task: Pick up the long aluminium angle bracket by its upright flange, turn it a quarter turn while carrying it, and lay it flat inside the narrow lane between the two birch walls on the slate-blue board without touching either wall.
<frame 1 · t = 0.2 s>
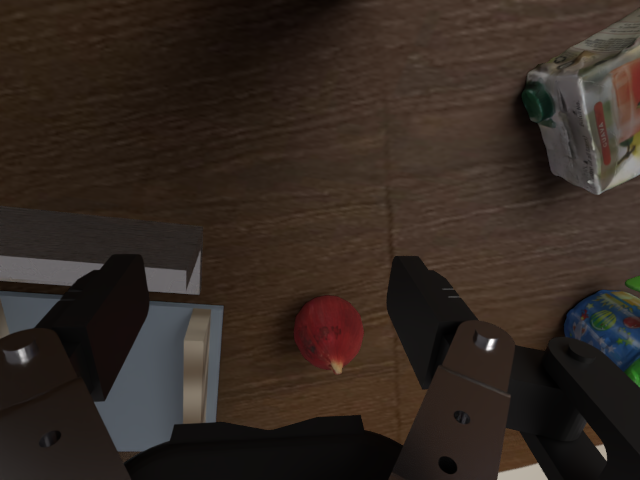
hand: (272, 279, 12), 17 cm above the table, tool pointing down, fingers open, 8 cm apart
bracket: (99, 248, 30), on the table
board: (112, 381, 36), on the table
walls: (112, 381, 36), resting on board
onion: (323, 302, 35), on the table
snack cup: (592, 314, 40), on the table
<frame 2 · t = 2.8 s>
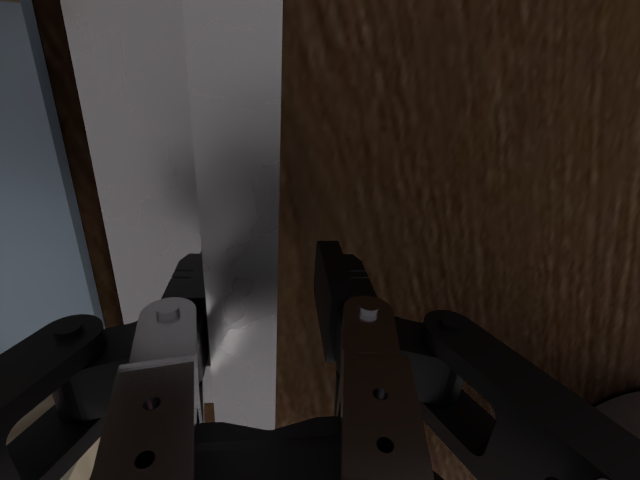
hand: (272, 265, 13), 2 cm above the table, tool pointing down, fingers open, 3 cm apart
bracket: (200, 234, 15), on the table, touching gripper
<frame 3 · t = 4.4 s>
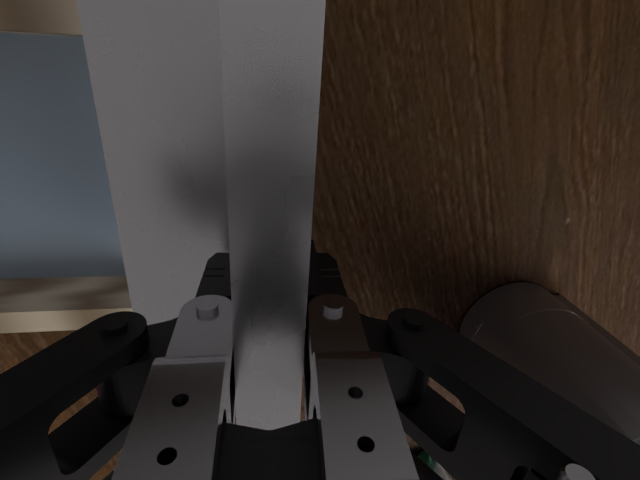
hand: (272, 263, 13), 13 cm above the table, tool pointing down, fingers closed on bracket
bracket: (214, 241, 15), point 12 cm above the table, touching gripper
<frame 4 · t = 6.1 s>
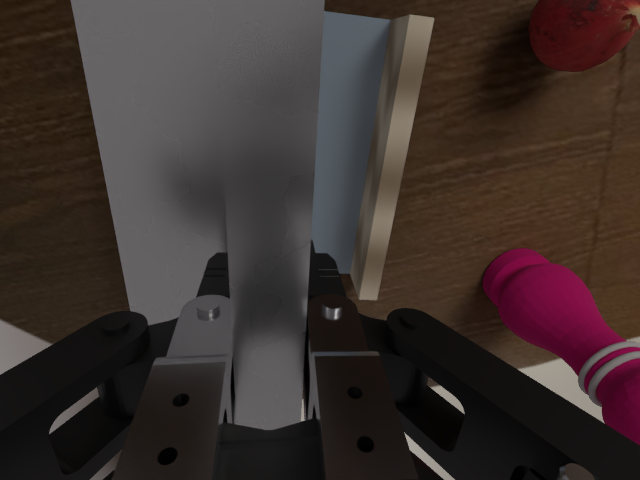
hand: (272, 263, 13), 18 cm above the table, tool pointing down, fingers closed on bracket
bracket: (213, 241, 14), point 16 cm above the table, touching gripper
pepper mill: (511, 274, 37), on the table
board: (271, 156, 29), on the table
walls: (271, 156, 29), resting on board
onion: (542, 25, 27), on the table
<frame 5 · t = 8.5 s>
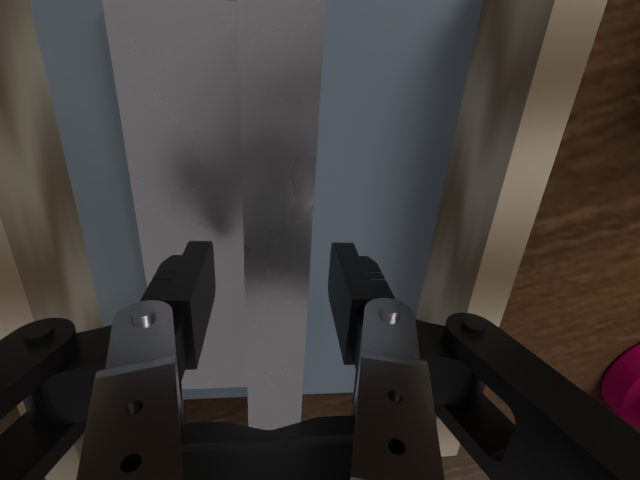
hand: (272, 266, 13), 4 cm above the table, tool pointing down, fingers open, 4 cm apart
bracket: (223, 226, 16), point 1 cm above the table, touching board
board: (268, 221, 17), on the table
walls: (268, 221, 17), resting on board
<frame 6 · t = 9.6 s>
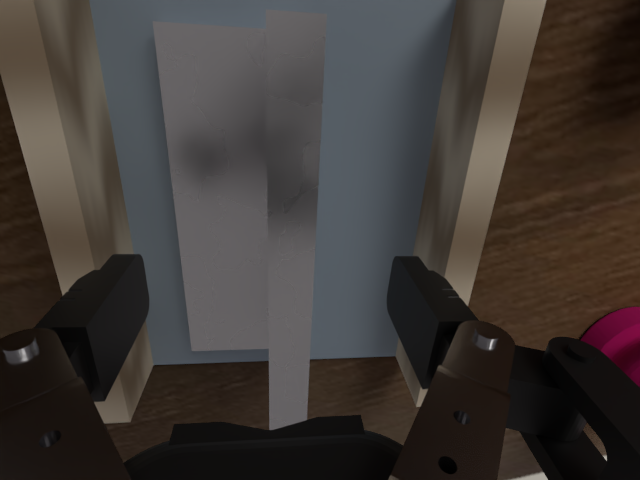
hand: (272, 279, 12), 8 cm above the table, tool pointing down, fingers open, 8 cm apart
bracket: (242, 209, 19), point 1 cm above the table, touching board
pepper mill: (614, 340, 27), on the table
board: (279, 205, 20), on the table
walls: (279, 205, 20), resting on board
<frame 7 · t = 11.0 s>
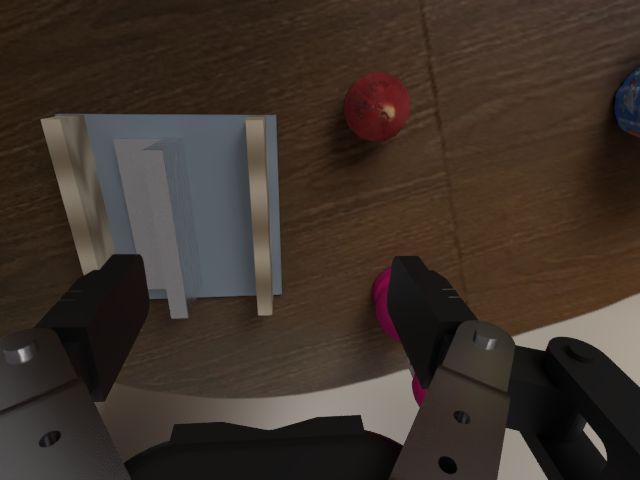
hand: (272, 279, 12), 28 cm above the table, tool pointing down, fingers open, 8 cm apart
bracket: (164, 216, 39), point 1 cm above the table, touching board
pepper mill: (396, 287, 46), on the table
board: (184, 213, 39), on the table
walls: (184, 213, 39), resting on board
onion: (367, 104, 37), on the table
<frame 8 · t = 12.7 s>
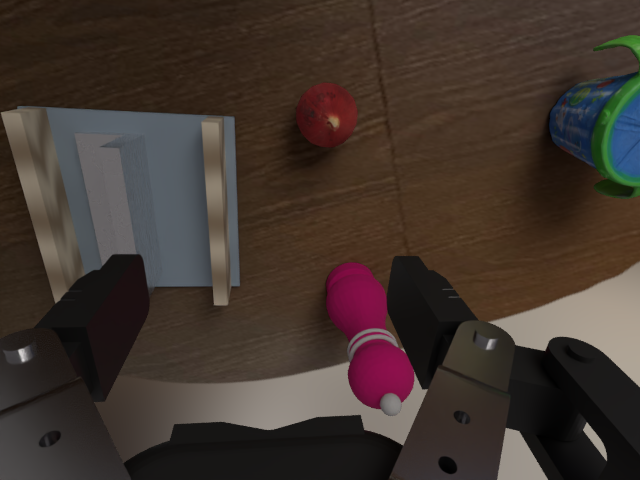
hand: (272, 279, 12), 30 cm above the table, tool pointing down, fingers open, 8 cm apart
bracket: (125, 208, 40), point 1 cm above the table, touching board
pepper mill: (349, 282, 49), on the table
board: (145, 206, 41), on the table
walls: (145, 206, 41), resting on board
onion: (322, 110, 39), on the table
snack cup: (576, 115, 42), on the table
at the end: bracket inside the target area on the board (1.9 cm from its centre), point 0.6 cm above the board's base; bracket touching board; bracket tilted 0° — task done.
